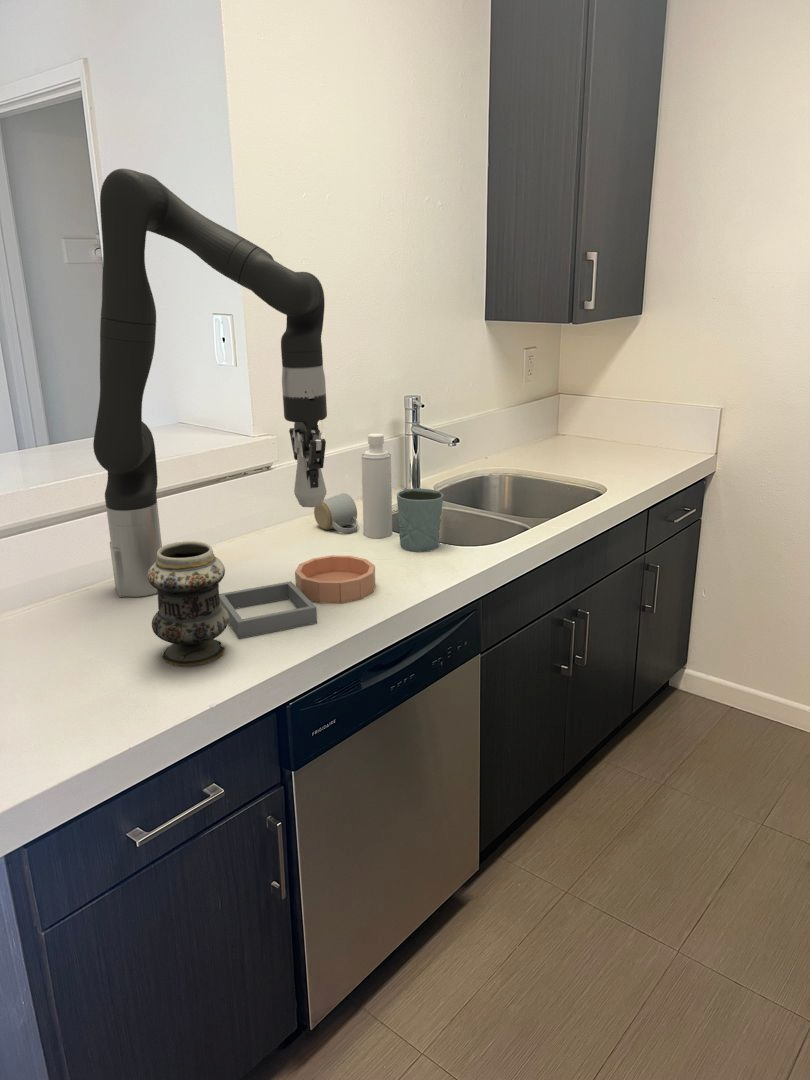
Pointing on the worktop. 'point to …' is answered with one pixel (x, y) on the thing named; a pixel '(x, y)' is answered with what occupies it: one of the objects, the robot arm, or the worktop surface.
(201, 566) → the apothecary jar
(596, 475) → the worktop surface
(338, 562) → the terracotta bowl
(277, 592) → the tray
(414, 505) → the drinking glass
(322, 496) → the salt shaker
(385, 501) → the grey bottle
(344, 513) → the ceramic mug
